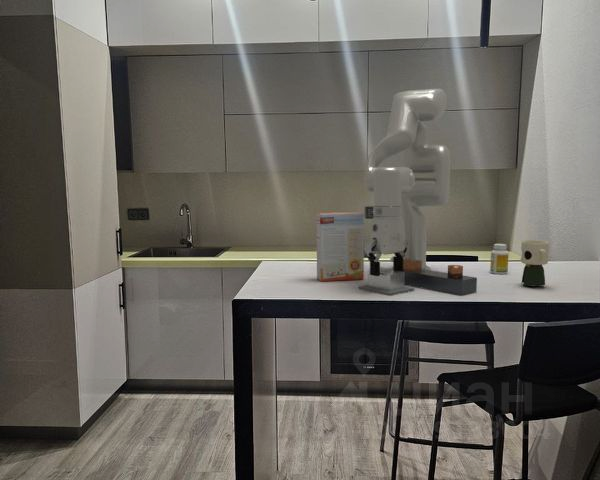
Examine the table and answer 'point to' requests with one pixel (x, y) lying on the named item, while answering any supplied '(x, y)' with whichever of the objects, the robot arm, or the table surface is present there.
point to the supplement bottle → (499, 259)
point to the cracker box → (340, 246)
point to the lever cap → (387, 280)
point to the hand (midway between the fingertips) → (386, 273)
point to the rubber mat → (405, 289)
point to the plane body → (438, 278)
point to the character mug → (534, 261)
